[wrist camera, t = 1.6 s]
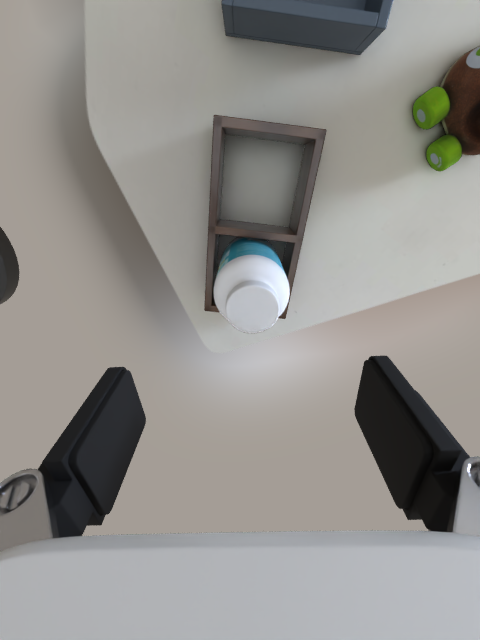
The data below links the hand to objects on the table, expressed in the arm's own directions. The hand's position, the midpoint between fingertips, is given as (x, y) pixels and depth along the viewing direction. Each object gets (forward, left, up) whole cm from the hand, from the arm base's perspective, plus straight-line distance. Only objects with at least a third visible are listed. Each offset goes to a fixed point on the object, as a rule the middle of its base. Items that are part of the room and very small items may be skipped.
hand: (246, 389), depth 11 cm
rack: (+1, +2, -26) cm, 26 cm away
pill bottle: (+1, -2, -26) cm, 26 cm away
